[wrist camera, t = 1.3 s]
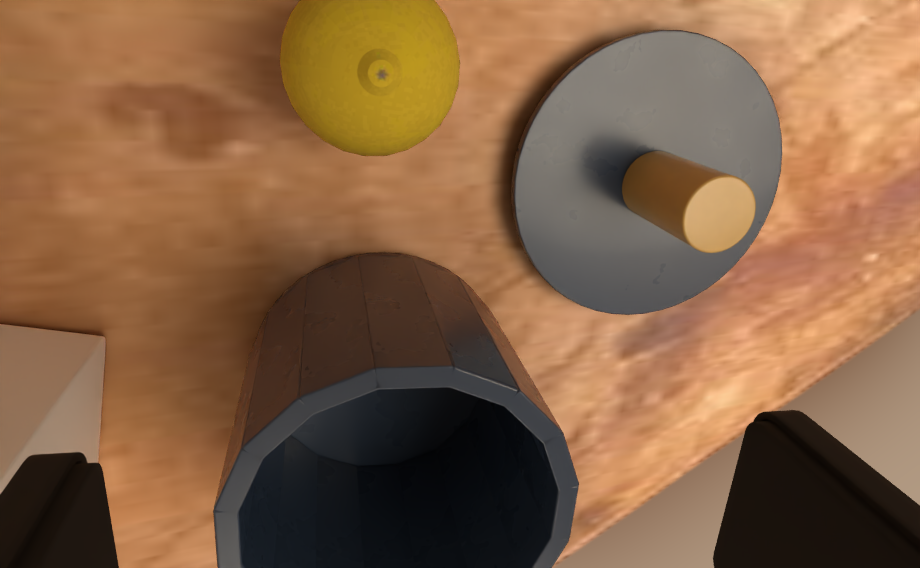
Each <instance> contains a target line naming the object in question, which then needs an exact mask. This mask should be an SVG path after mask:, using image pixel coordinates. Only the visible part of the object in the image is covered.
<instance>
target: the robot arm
mask: <svg viewBox="0 0 920 568" xmlns="http://www.w3.org/2000/svg"><path fill="white" fill-rule="evenodd" d="M713 562H714V568H920V505H918V504H917V503H916V502H915V501H913V500H912V499H911V498H910V497H908V496H907V495H906V494H905V493H903V492H902V491H901V490H900V489H898V488H897V487H896V486H895V485H893V484H892V483H891V482H890V481H888V480H887V479H886V478H885V477H883V476H882V475H881V474H879V473H878V472H877V471H875V470H874V469H873V468H872V467H871V466H869V465H868V464H867V463H866V462H864V461H863V460H862V459H861V458H859V457H858V456H857V455H856V454H854V453H853V452H852V451H851V450H849V449H848V448H847V447H846V446H844V445H843V444H842V443H841V442H839V441H838V440H837V439H836V438H834V437H833V436H832V435H831V434H829V433H828V432H827V431H826V430H824V429H823V428H822V427H821V426H819V425H818V424H817V423H816V422H814V421H813V420H812V419H810V418H809V417H808V416H807V415H805V414H804V413H802V412H800V411H795V410H789V411H772V412H763V413H760V414H758V415H757V417H756V418H755V419H754V422H752V423H750V424H749V425H748V426H747V428H746V431H745V434H744V438H743V442H742V446H741V450H740V454H739V458H738V462H737V465H736V469H735V473H734V478H733V481H732V485H731V489H730V493H729V497H728V501H727V504H726V508H725V512H724V516H723V520H722V523H721V527H720V531H719V535H718V539H717V543H716V547H715V551H714V556H713ZM0 568H119V566H118V560H117V554H116V548H115V542H114V536H113V530H112V524H111V518H110V512H109V506H108V500H107V494H106V488H105V482H104V476H103V471H102V467H101V465H100V464H99V463H87V459H86V457H85V455H84V454H83V453H81V452H71V453H53V454H36V455H31V456H28V457H27V458H26V460H25V461H24V462H23V463H22V464H21V466H20V467H19V469H18V470H17V472H16V473H15V474H14V476H13V477H12V479H11V480H10V481H9V483H8V484H7V486H6V487H5V488H4V490H3V491H2V493H1V494H0Z"/></svg>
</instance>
